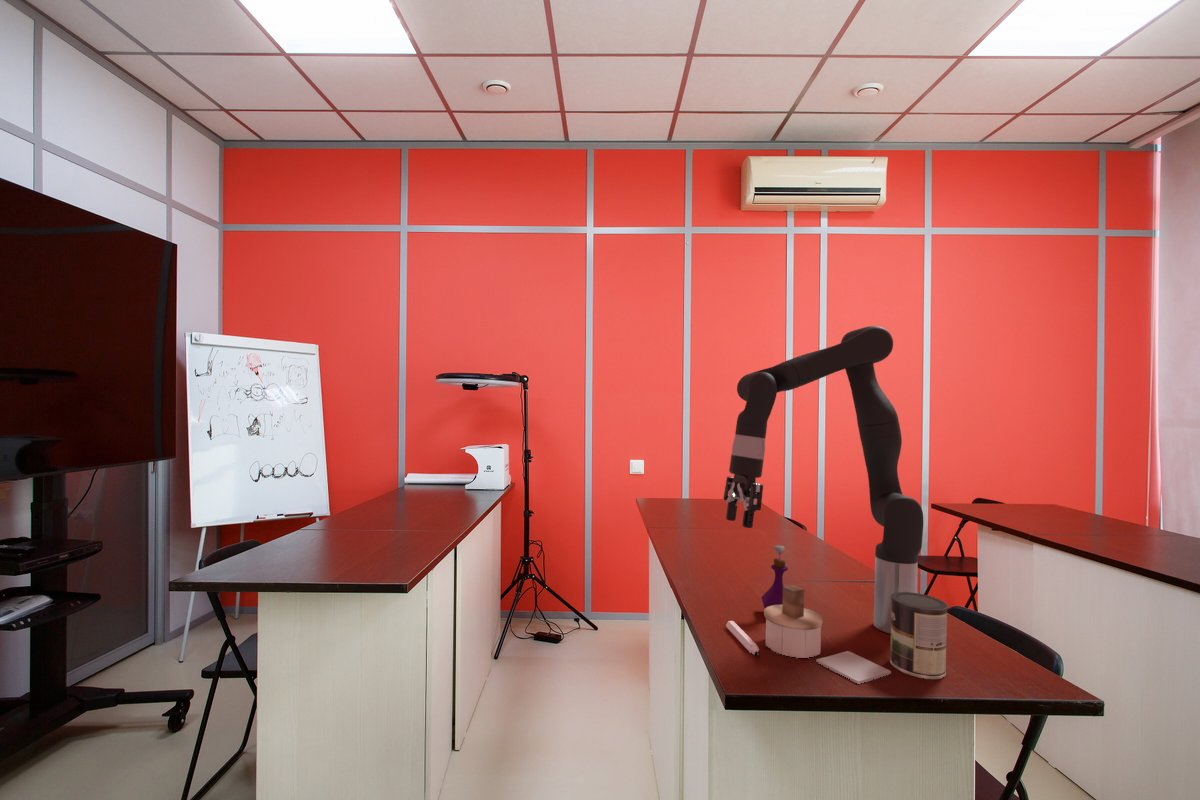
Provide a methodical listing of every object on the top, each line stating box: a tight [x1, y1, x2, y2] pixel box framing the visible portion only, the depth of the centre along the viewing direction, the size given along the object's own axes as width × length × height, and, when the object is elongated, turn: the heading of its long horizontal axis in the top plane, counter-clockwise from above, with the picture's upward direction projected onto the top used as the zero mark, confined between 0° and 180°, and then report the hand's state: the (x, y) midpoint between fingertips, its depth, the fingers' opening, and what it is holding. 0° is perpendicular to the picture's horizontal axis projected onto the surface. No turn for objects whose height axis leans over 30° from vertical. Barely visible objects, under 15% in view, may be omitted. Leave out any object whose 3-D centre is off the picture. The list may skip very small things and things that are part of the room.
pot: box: [765, 618, 822, 659], centre depth 121 cm, size 11×11×6 cm
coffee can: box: [889, 592, 949, 680], centre depth 113 cm, size 10×10×14 cm
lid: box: [763, 584, 824, 630], centre depth 121 cm, size 12×12×7 cm
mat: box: [816, 650, 892, 685], centre depth 112 cm, size 10×10×1 cm
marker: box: [725, 620, 760, 657], centre depth 122 cm, size 3×2×16 cm
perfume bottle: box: [761, 545, 789, 609], centre depth 139 cm, size 8×8×18 cm
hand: (738, 523), depth 127 cm, fingers open, 8 cm apart
